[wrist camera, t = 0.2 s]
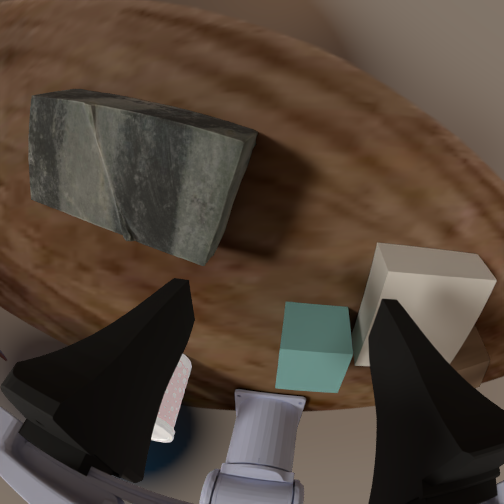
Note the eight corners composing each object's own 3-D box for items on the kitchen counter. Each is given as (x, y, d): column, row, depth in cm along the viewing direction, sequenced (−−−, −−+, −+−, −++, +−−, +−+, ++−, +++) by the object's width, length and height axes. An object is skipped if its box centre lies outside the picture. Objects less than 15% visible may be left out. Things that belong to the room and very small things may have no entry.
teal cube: (336, 347, 25) (337, 392, 21) (281, 342, 26) (275, 387, 22) (347, 306, 22) (353, 354, 18) (286, 300, 23) (280, 348, 19)
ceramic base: (439, 336, 23) (449, 364, 20) (351, 333, 24) (354, 365, 21) (477, 254, 18) (496, 280, 15) (377, 242, 19) (388, 271, 16)
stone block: (222, 245, 22) (200, 289, 17) (69, 188, 21) (28, 214, 17) (261, 129, 17) (245, 144, 13) (79, 85, 17) (29, 94, 12)
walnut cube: (467, 353, 23) (479, 386, 20) (431, 364, 25) (440, 399, 21) (474, 324, 21) (490, 359, 18) (435, 336, 23) (447, 373, 19)
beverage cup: (171, 379, 32) (130, 478, 21) (136, 346, 30) (82, 450, 18) (209, 372, 30) (171, 488, 18) (173, 336, 28) (116, 460, 16)
